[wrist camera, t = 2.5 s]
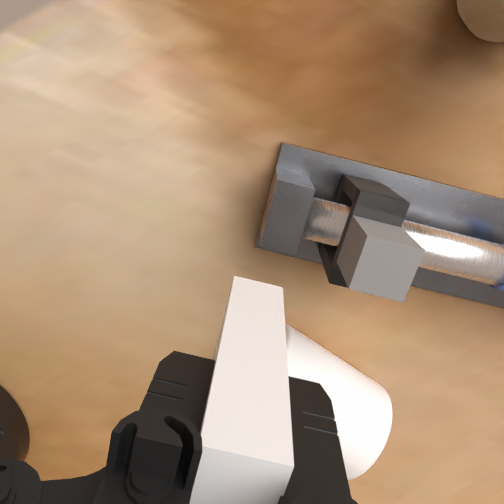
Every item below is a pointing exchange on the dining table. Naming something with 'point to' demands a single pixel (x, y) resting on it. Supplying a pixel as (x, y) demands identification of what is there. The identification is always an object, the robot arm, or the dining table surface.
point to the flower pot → (483, 18)
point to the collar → (372, 242)
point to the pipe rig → (415, 224)
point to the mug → (344, 400)
